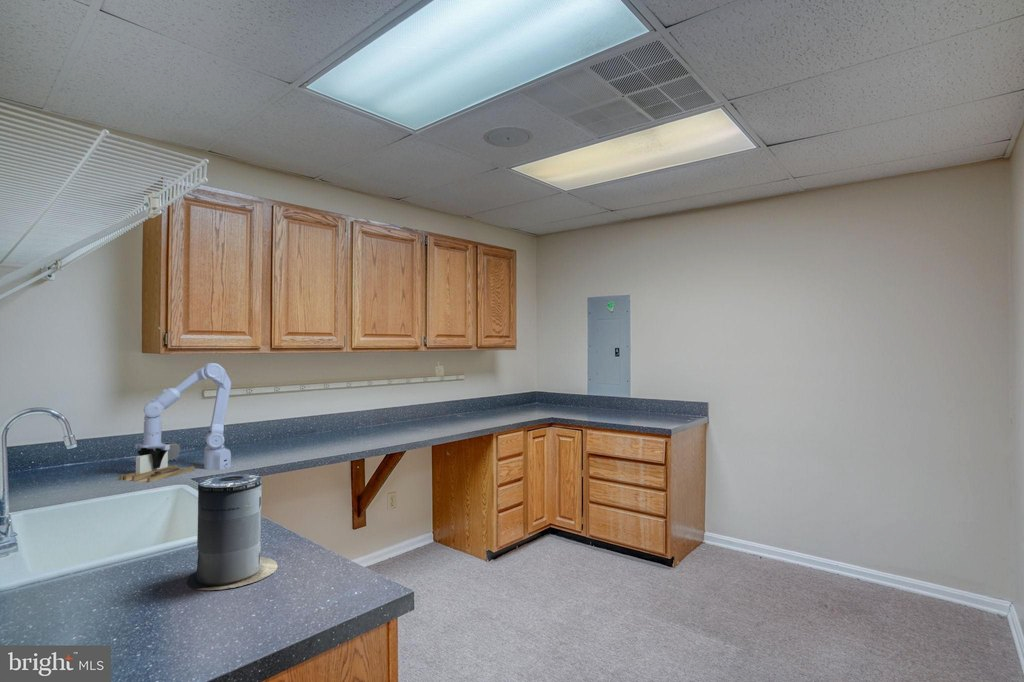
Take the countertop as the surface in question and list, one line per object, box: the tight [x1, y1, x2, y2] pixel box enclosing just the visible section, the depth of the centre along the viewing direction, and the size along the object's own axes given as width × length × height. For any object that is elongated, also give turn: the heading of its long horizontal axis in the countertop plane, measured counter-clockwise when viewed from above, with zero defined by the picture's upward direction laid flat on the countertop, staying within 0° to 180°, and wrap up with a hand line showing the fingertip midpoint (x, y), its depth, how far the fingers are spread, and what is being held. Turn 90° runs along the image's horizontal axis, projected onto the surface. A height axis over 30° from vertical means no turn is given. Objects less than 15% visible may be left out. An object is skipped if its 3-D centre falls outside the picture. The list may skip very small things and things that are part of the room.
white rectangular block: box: [135, 451, 169, 475], centre depth 204 cm, size 2×12×8 cm, turn 167°
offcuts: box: [151, 467, 180, 477], centre depth 202 cm, size 4×10×2 cm, turn 167°
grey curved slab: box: [154, 441, 181, 462], centre depth 230 cm, size 17×5×10 cm, turn 171°
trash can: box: [186, 474, 278, 591], centre depth 115 cm, size 17×18×21 cm
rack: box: [118, 464, 195, 483], centre depth 203 cm, size 14×20×3 cm
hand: (152, 467), depth 204 cm, fingers open, 4 cm apart
